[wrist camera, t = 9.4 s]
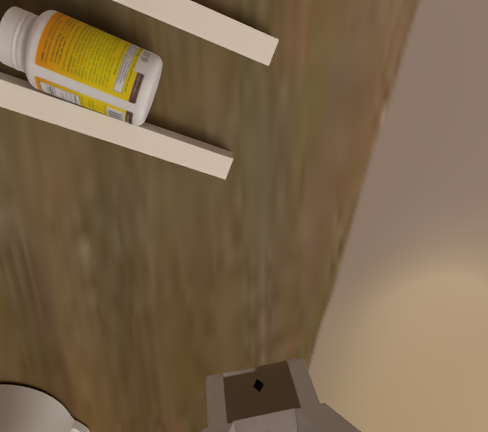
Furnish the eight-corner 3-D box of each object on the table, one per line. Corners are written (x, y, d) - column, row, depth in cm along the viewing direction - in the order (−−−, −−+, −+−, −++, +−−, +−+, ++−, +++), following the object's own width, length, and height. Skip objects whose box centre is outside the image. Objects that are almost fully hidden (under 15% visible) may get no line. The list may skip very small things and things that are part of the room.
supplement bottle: (170, 44, 28) (25, -21, 25) (152, 85, 24) (-17, 15, 21) (154, 101, 32) (28, 50, 29) (137, 142, 28) (-7, 90, 26)
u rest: (223, 171, 34) (226, 182, 32) (-38, 84, 29) (-62, 89, 26) (273, 39, 30) (281, 39, 27) (-26, -94, 24) (-54, -110, 22)
